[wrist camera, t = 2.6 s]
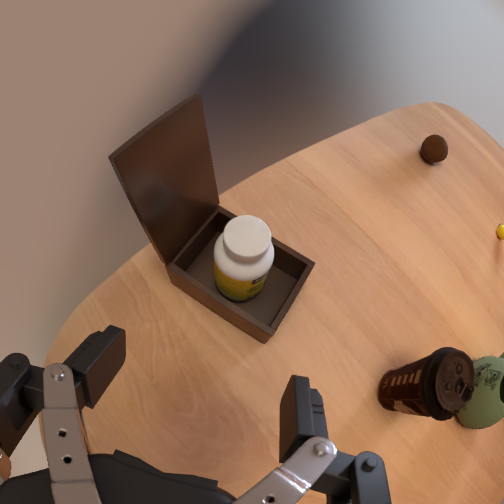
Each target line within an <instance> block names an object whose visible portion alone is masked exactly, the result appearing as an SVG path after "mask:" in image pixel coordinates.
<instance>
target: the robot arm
mask: <svg viewBox="0 0 504 504" xmlns="http://www.w3.org/2000/svg"><path fill="white" fill-rule="evenodd" d="M125 357H126V334H125V330H124V329H121V328H118V327H115V326H113V325H109V326H108V327H107V328H106V329H105V330H104V331H103V332H100V331H97V332H95V333H93V334H90V335H89V336H88V337H87V338H86V339H85V340H84V342H82V343H81V344H80V345H79V347H77V349H76V350H75V351H74V352H73V353H72V354H71V355H70V356H69V357H68V358H67V359H66V360H65V361H64V362H63V363H62V364H61V363H54V364H51V365H49V366H47V367H46V368H41V367H37V366H33V365H30V362H29V359H28V358H27V356H25V355H24V354H21V353H12V354H10V355H8V356H7V357H6V358H5V359H4V360H3V361H2V362H1V363H0V504H296V503H297V502H298V501H299V500H300V498H301V497H302V496H303V495H304V494H305V493H306V492H307V491H308V490H309V489H311V490H314V491H317V492H321V493H324V494H326V498H327V504H392V503H391V497H390V492H389V486H388V481H387V475H386V470H385V465H384V462H383V460H382V458H381V457H380V456H379V455H377V454H376V453H373V452H368V451H366V452H362V453H360V454H358V455H357V456H352V455H349V454H345V453H342V452H340V451H338V450H337V448H336V446H335V444H334V443H333V442H332V441H330V440H329V438H328V432H327V425H326V419H325V414H324V413H325V412H324V407H323V400H322V397H321V395H320V394H319V392H318V391H317V389H311V388H310V385H309V378H308V377H303V376H297V375H292V376H291V378H290V380H289V382H288V385H287V387H286V389H285V391H284V394H283V396H282V399H281V403H280V441H279V463H283V464H282V465H281V466H280V467H279V468H278V467H277V468H275V469H274V470H273V471H271V472H270V473H269V474H268V475H267V476H266V477H264V478H263V479H262V480H261V481H260V482H258V483H257V484H256V485H255V486H253V487H252V488H251V489H250V490H248V491H247V492H246V493H245V494H243V495H242V496H241V497H239V498H238V499H236V498H235V497H234V496H233V495H231V494H230V493H228V492H227V491H225V490H223V489H221V488H219V487H217V484H218V481H216V480H211V479H207V478H203V477H198V476H194V475H186V474H173V473H164V472H161V471H160V470H158V469H156V468H154V467H153V466H151V465H149V464H148V463H146V462H144V461H143V460H141V459H139V458H137V457H134V456H132V455H129V454H126V453H124V452H121V451H119V450H117V449H116V450H115V452H114V454H113V455H112V454H92V451H91V448H90V444H89V441H88V437H87V432H86V428H85V424H84V419H83V414H82V409H83V408H84V406H87V407H89V408H91V409H93V408H94V406H95V405H96V403H97V402H98V400H99V399H100V397H101V396H102V395H103V393H104V392H105V390H106V389H107V387H108V386H109V384H110V383H111V381H112V380H113V379H114V377H115V376H116V374H117V373H118V371H119V370H120V368H121V367H122V366H123V364H124V361H125ZM40 411H42V422H43V432H44V440H45V447H46V454H47V460H48V466H49V468H47V469H44V470H40V471H36V472H32V473H29V474H24V475H20V476H16V477H12V478H9V476H10V475H11V472H10V471H11V462H10V459H9V457H10V456H11V454H12V452H13V451H14V449H15V448H16V446H17V445H18V443H19V442H20V440H21V439H22V437H23V435H24V434H25V433H26V431H27V430H28V428H29V426H30V425H31V424H32V422H33V421H34V419H35V418H36V416H37V415H38V413H39V412H40Z"/></svg>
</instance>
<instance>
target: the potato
mask: <svg viewBox="0 0 504 504" xmlns="http://www.w3.org/2000/svg"><path fill="white" fill-rule="evenodd" d="M421 153H422V155H423V157H424V158H425V159H426V160H427V161H429V162H432V163H434V162H440V161H443V160H444V159H445V158H446V157H447V154H448V146H447V143H446V141H445V140H444V138H443V137H441V136H439V135H431V136H429V137H427V138H426V139H425V140H424V142H423V143H422V146H421Z"/></svg>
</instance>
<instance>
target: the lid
mask: <svg viewBox="0 0 504 504" xmlns="http://www.w3.org/2000/svg"><path fill="white" fill-rule="evenodd" d="M108 157H109V160H110V162H111V164H112V167H113V169H114V171H115V173H116V175H117V177H118V179H119V181H120V183H121V185H122V188H123V190H124V191H125V194H126V196H127V198H128V200H129V202H130V204H131V206H132V208H133V209H134V211H135V213H136V215H137V217H138V219H139V221H140V223H141V225H142V227H143V229H144V231H145V232H146V234H147V236H148V238H149V240H150V242H151V243H152V245H153V247H154V249H155V251H156V252H157V254H158V256H159V258H160V260H161V261H162V262H163V263H165V264H167V263H168V262H169V261H170V260H171V258H172V257H173V256H174V255H175V254H176V253H177V251H178V250H179V249H180V248H181V247H182V245H183V244H184V243H185V242H186V241H187V240H188V238H189V237H190V236H191V235H192V234H193V233H194V232H195V230H196V229H197V228H198V227H199V226H200V225H201V223H202V222H203V221H204V220H205V219H206V218H207V217H208V216H209V214H210V213H211V212H212V211H213V210H214V209H215V208H216V207H217V205H218V204H219V203H220V202H219V197H218V191H217V186H216V180H215V175H214V169H213V163H212V158H211V152H210V146H209V140H208V134H207V128H206V122H205V116H204V109H203V104H202V97H201V95H200V94H193V95H191V96H190V97H188V98H187V99H185V100H184V101H182V102H181V103H179V104H177V105H176V106H174V107H173V108H172V109H170V110H169V111H167V112H166V113H164V114H163V115H161V116H160V117H158V118H157V119H156V120H154V121H153V122H152V123H150V124H149V125H147V126H146V127H145V128H143V129H142V130H141V131H139V132H138V133H137V134H136V135H134V136H133V137H132V138H130V139H129V140H128V141H127V142H125V143H124V144H123V145H122V146H120V147H119V148H118V149H117V150H115V151H114V152H113V153H112V154H111V155H109V156H108Z"/></svg>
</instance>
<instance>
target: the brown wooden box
mask: <svg viewBox="0 0 504 504" xmlns="http://www.w3.org/2000/svg"><path fill="white" fill-rule="evenodd" d="M235 217H238V216H236V215H234V214H233V213H231V212H229V211H227V210H226V209H224V208H222V207H221V206H219V205H217V207H216V208H215V209H214V210H213V211H212V212H211V213H210V214H209V216H208V217H207V218H206V219H205V220H204V221H203V222H202V223H201V225H200V226H199V227H198V228H197V229H196V230H195V232H194V233H193V234H192V235H191V236H190V237H189V238H188V240H187V241H186V242H185V243H184V244H183V245H182V247H181V248H180V249H179V250H178V251H177V253H176V254H175V255H174V256H173V257H172V258H171V260H170V261H169V262H168V263H167V264H165V267H166V269H167V272H168V274H169V277H170V280H171V282H172V283H173V284H174V285H175V286H177V287H178V288H180V289H181V290H182V291H184V292H185V293H187V294H188V295H190V296H191V297H192V298H194V299H195V300H197V301H198V302H200V303H201V304H203V305H204V306H206V307H207V308H209V309H210V310H212V311H213V312H214V313H216V314H218V315H219V316H221V317H222V318H224V319H225V320H227V321H228V322H230V323H231V324H233V325H234V326H236V327H237V328H239V329H241V330H242V331H244V332H245V333H247V334H248V335H250V336H252V337H253V338H255V339H256V340H258V341H260V342H261V343H263V344H265V343H266V342H267V341H268V340H269V339H270V338H271V337H272V336H273V334H274V333H275V331H276V330H277V328H278V326H279V325H280V323H281V321H282V320H283V318H284V317H285V315H286V313H287V312H288V310H289V308H290V307H291V305H292V303H293V302H294V300H295V298H296V296H297V295H298V293H299V291H300V290H301V288H302V286H303V284H304V283H305V281H306V279H307V278H308V276H309V274H310V272H311V270H312V269H313V267H314V265H315V262H313V261H311V260H310V259H308V258H306V257H305V256H303V255H302V254H300V253H298V252H297V251H295V250H293V249H292V248H290V247H288V246H287V245H285V244H283V243H282V242H280V241H278V240H277V239H275V238H273V237H272V236H271V242H272V244H273V248H274V259H273V263H272V265H271V268H270V270H269V272H268V275H267V277H266V280H265V282H264V285H263V287H262V289H261V291H260V292H259V294H258V295H257V296H255V297H254V298H253V299H251V300H248V301H245V302H235V301H231V300H229V299H227V298H225V297H224V296H222V295H221V294H220V292H219V291H218V289H217V288H216V285H215V281H214V247H215V243H216V241H217V239H218V238H219V236H220V235H221V234H222V233H223V232H224V229H225V226H226V225H227V224H228V222H229V221H230V220H232V219H233V218H235Z"/></svg>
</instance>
